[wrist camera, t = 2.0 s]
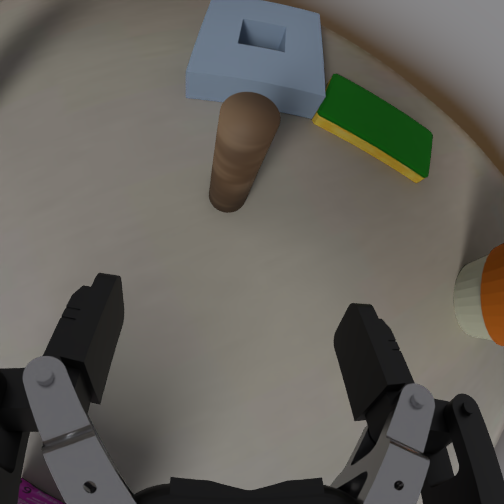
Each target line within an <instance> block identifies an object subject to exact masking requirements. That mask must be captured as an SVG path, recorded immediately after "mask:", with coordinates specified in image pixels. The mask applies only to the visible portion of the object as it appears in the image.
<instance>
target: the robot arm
mask: <svg viewBox="0 0 504 504" xmlns="http://www.w3.org/2000/svg"><path fill="white" fill-rule="evenodd" d="M123 320H124V303H123V293H122V282H121V277H120V276H117V275H111V274H104V273H98V274H97V276H96V278H95V280H94V282H93V284H92V286H91V287H89V286H82V287H81V288H80V289H78V290H77V291H76V292H75V293H74V294H73V295H72V296H71V298H70V300H69V302H68V304H67V306H66V309H65V310H64V312H63V314H62V318H60V320H59V322H58V324H57V326H56V329H55V331H54V333H53V335H52V337H51V339H50V341H49V344H48V346H47V348H46V350H45V352H44V354H43V356H41V357H38V358H35V359H33V360H32V361H31V362H29V364H28V365H27V366H26V367H25V368H9V369H0V504H18V496H19V488H20V481H21V475H22V469H23V463H24V458H25V453H26V448H27V443H28V438H29V434H30V432H39V433H40V436H41V438H42V441H43V446H42V452H43V456H44V458H45V461H46V463H47V466H48V468H49V470H50V472H51V475H52V477H53V479H54V481H55V483H56V485H57V487H58V489H59V491H60V493H61V495H62V497H63V499H64V501H65V503H66V504H416V503H417V501H418V498H419V495H420V492H421V495H422V500H423V504H504V480H503V476H502V473H501V469H500V466H499V463H498V460H497V457H496V454H495V451H494V447H493V445H492V442H491V439H490V436H489V433H488V430H487V428H486V425H485V422H484V420H483V417H482V415H481V412H480V410H479V407H478V405H477V403H476V402H475V400H474V399H473V398H472V397H470V396H469V395H466V394H458V395H456V396H455V397H454V398H453V399H452V400H451V401H450V402H448V401H443V400H438V399H434V398H433V396H432V394H431V393H430V391H429V390H428V389H426V388H425V387H424V386H422V385H420V384H415V383H414V381H413V378H412V376H411V374H410V371H409V369H408V367H407V364H406V362H405V360H404V357H403V355H402V353H401V351H399V349H400V348H399V346H398V344H397V342H395V340H396V339H395V337H394V335H393V333H392V331H391V329H390V328H389V327H388V325H387V324H386V323H385V322H384V321H383V320H382V319H379V318H378V316H377V314H376V312H375V310H374V308H373V306H372V305H370V304H357V303H352V304H350V305H349V307H348V308H347V310H346V312H345V314H344V316H343V318H342V320H341V322H340V324H339V326H338V328H337V330H336V332H335V335H334V348H335V352H336V355H337V359H338V362H339V366H340V369H341V373H342V376H343V380H344V383H345V387H346V391H347V394H348V398H349V402H350V405H351V409H352V413H353V417H354V421H361V420H366V421H367V426H366V427H365V428H364V430H363V432H362V434H361V436H360V438H359V440H358V443H357V445H356V447H355V449H354V451H353V453H352V455H351V456H350V458H349V460H348V462H347V464H346V466H345V468H344V469H343V470H342V472H341V473H340V474H339V475H338V476H337V477H336V479H335V480H334V481H333V483H332V484H331V485H330V486H326V485H323V481H322V478H314V479H304V480H290V481H285V482H281V483H278V484H275V485H271V486H267V487H263V488H260V489H256V490H244V489H239V488H235V487H231V486H227V485H223V484H220V483H216V482H213V481H208V480H194V479H184V478H175V477H171V478H170V483H169V484H161V485H156V486H152V487H149V488H146V489H144V490H142V491H140V492H138V493H136V494H133V492H132V491H131V489H130V488H129V486H128V485H127V483H126V481H125V480H124V478H123V477H122V475H121V474H120V472H119V470H118V469H117V467H116V466H115V464H114V462H113V461H112V459H111V457H110V456H109V454H108V452H107V450H106V449H105V447H104V445H103V443H102V441H101V439H100V438H99V436H98V434H97V432H96V430H95V428H94V426H93V424H92V422H91V420H90V418H89V416H88V414H87V413H88V409H89V406H90V402H92V403H96V404H100V403H101V399H102V395H103V392H104V388H105V384H106V380H107V376H108V373H109V369H110V366H111V362H112V359H113V355H114V352H115V348H116V345H117V342H118V338H119V335H120V332H121V329H122V325H123ZM452 442H453V446H454V449H455V452H456V456H457V459H458V463H459V471H458V473H457V475H456V476H454V473H453V470H452V466H451V462H450V459H449V455H448V452H447V448H446V446H448V445H449V444H450V443H452Z"/></svg>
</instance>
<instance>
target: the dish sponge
mask: <svg viewBox="0 0 504 504" xmlns="http://www.w3.org/2000/svg"><path fill="white" fill-rule="evenodd" d="M325 95H326V97H325V98H324V100H323V102H322V103H321V105H320V106H319V108H318V110H317V111H316V113H315V115H314V117H313V119H312V121H313V123H314V124H315V125H317V126H319V127H321V128H323V129H325V130H327V131H329V132H331V133H333V134H335V135H336V136H338V137H340V138H342V139H344V140H346V141H347V142H349V143H351V144H353V145H355V146H356V147H358V148H360V149H362V150H363V151H365V152H367V153H368V154H370V155H372V156H374V157H375V158H377V159H379V160H380V161H382V162H384V163H385V164H387V165H388V166H390V167H392V168H393V169H395V170H396V171H398V172H400V173H401V174H403V175H404V176H406V177H407V178H409V179H410V180H412V181H413V182H415V183H418V182H420V181H421V180H423V179H425V178H426V177H428V174H429V166H430V158H431V149H432V139H433V135H432V133H431V132H430V131H429V130H428V129H426V128H425V127H423V126H422V125H421V124H419V123H418V122H416V121H415V120H413V119H412V118H411V117H409V116H408V115H406V114H405V113H403V112H402V111H400V110H398V109H397V108H395V107H394V106H392V105H391V104H389V103H387V102H386V101H384V100H383V99H381V98H379V97H378V96H376V95H374V94H373V93H371V92H369V91H367V90H366V89H364V88H362V87H360V86H359V85H357V84H355V83H353V82H351V81H350V80H348V79H346V78H344V77H342V76H340V75H338V74H333V76H332V77H331V79H330V81H329V82H328V84H327V86H326V89H325Z"/></svg>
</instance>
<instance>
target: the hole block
mask: <svg viewBox="0 0 504 504" xmlns="http://www.w3.org/2000/svg"><path fill="white" fill-rule="evenodd" d="M238 43H241V44H238ZM244 44H247V45H244ZM250 45H253V46H250ZM256 46H258V47H256ZM261 47H264V48H261ZM267 48H269V49H267ZM272 49H274V50H272ZM276 50H278V51H276ZM240 92H254V93H258V94H261V95H263V96H265V97H267V98H269V99H270V100H271V101H272V102H273V103H274V104H275V105H276V106H277V108H278V110H279V112H283V113H287V114H292V115H297V116H301V117H306V118H310V119H312V118H313V116H314V115H315V113H316V111H317V110H318V108H319V106H320V105H321V103H322V102H323V100H324V98H325V97H326V95H325V77H324V61H323V48H322V36H321V25H320V16H319V14H317V13H314V12H310V11H307V10H303V9H299V8H295V7H291V6H286V5H282V4H277V3H272V2H267V1H262V0H211V2H210V5H209V7H208V10H207V13H206V15H205V18H204V21H203V23H202V26H201V29H200V31H199V34H198V37H197V40H196V43H195V46H194V49H193V52H192V55H191V58H190V61H189V64H188V67H187V70H186V98H192V99H201V100H210V101H217V102H224V101H225V100H226V99H227V98H228V97H230V96H231V95H233V94H236V93H240Z"/></svg>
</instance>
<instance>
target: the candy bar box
mask: <svg viewBox="0 0 504 504" xmlns="http://www.w3.org/2000/svg"><path fill="white" fill-rule="evenodd" d="M18 504H65V503H63V502H61V501H59V500H57V499H55V498H53V497H52V496H50V495H48V494H47V493H45V492H43V491H42V490H40V489H38V488H37V487H35V486H34V485H32V484H30V483H29V482H27V481H26V480H24V479H23V478H21V481H20V488H19V496H18Z"/></svg>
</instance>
